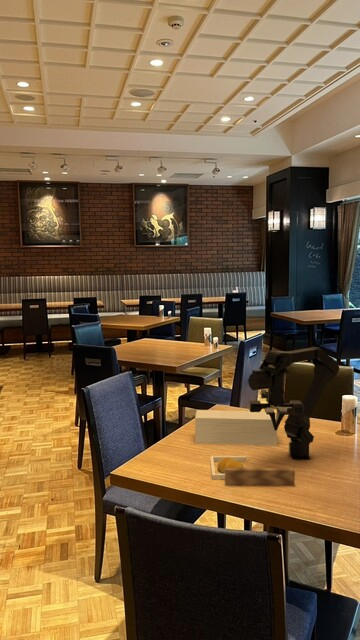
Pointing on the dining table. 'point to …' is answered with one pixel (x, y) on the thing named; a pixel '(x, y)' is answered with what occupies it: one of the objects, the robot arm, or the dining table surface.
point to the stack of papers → (234, 428)
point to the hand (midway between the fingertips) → (275, 429)
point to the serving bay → (219, 458)
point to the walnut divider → (260, 476)
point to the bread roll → (228, 464)
